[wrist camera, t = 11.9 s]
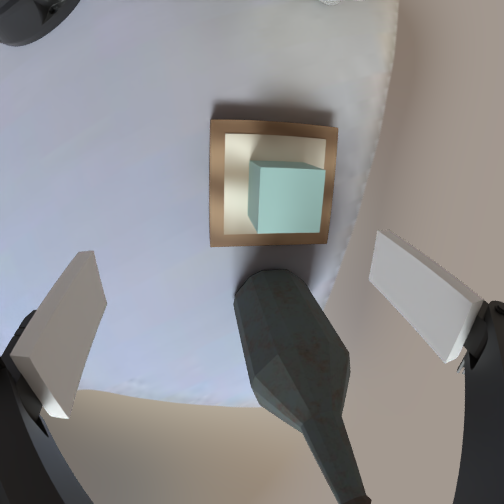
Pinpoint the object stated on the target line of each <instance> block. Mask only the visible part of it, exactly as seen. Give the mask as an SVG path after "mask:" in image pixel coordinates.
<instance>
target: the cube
mask: <svg viewBox="0 0 504 504" xmlns="http://www.w3.org/2000/svg"><path fill="white" fill-rule="evenodd" d="M325 172H326V170H324V169H321V168H318V167H315V166H313V165H310V164H307V163H304V162H286V161H256V160H249V186H248V217H249V219H250V220H251V222H252V224H253V226H254V228H255V230H256V231H257V233H258V234H263V233H319V231H320V223H321V214H322V204H323V194H324V183H325Z"/></svg>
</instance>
